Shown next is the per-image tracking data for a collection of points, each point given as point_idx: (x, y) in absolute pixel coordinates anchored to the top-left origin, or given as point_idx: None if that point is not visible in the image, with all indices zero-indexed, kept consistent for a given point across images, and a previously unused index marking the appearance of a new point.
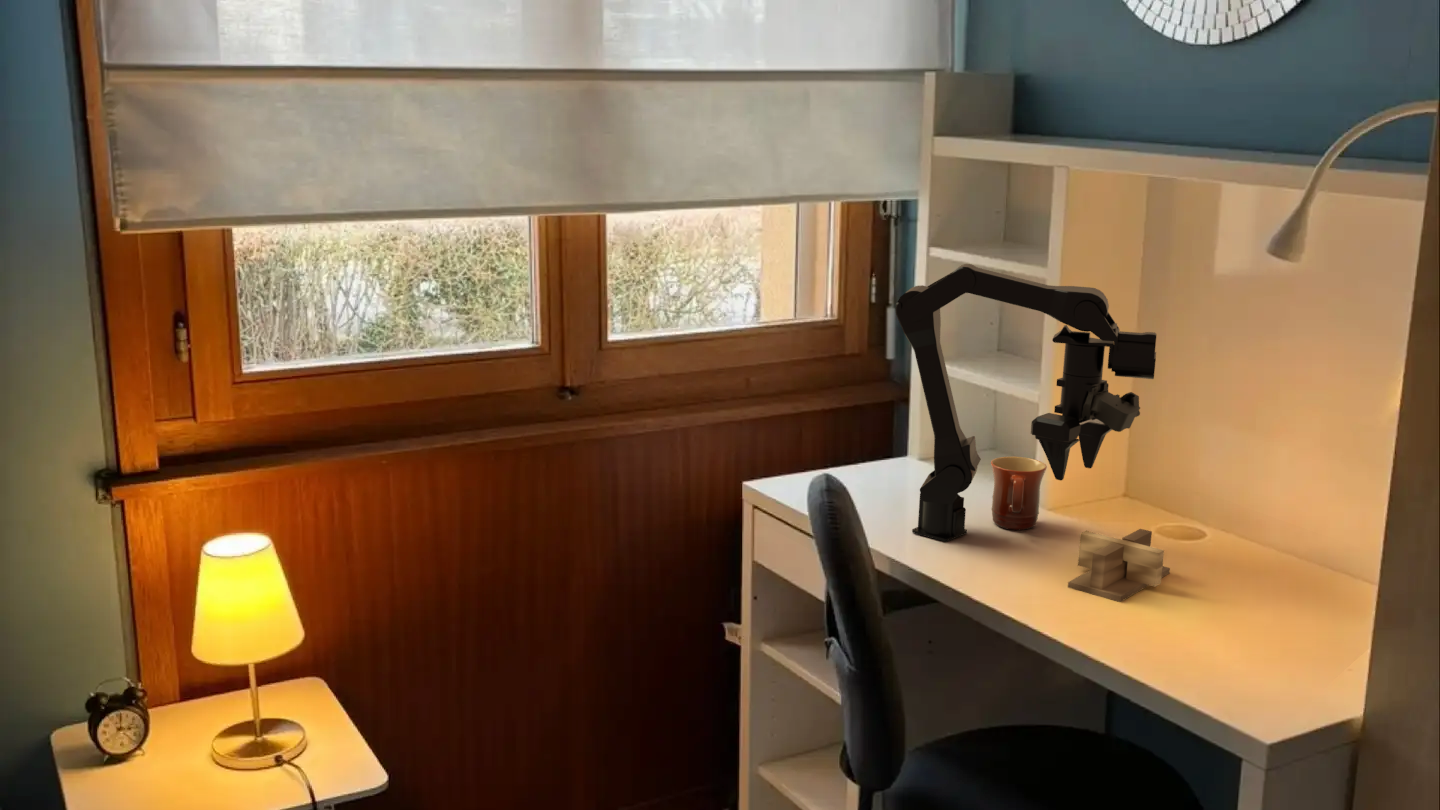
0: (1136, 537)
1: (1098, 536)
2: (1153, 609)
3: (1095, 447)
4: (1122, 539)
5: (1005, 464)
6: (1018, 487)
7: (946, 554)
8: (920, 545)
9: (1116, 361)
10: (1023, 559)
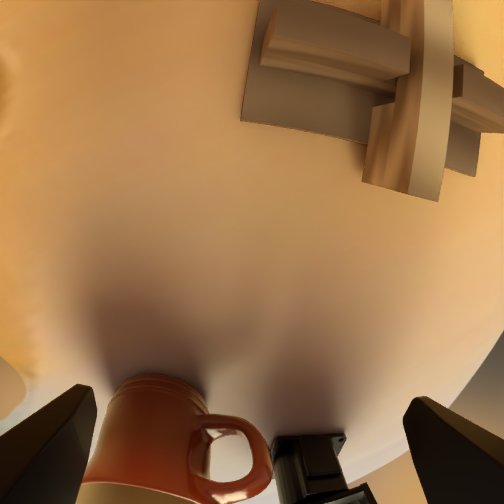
0: (377, 33)
1: (438, 144)
2: (468, 20)
3: (30, 478)
4: (406, 73)
5: None
6: (269, 472)
7: (397, 404)
8: (372, 441)
9: None
10: (368, 309)
